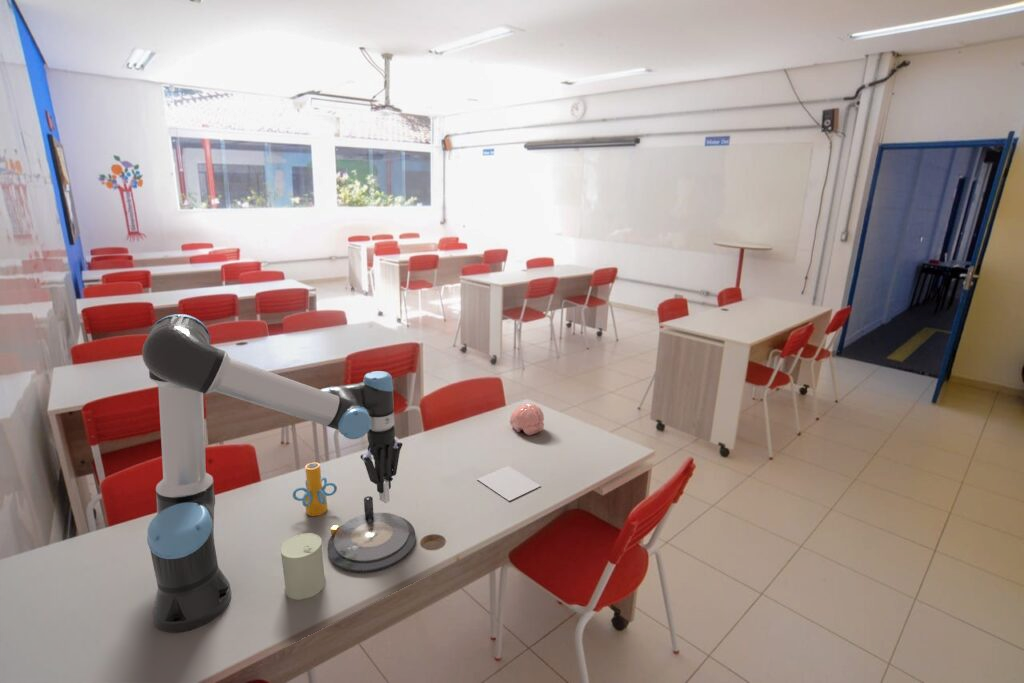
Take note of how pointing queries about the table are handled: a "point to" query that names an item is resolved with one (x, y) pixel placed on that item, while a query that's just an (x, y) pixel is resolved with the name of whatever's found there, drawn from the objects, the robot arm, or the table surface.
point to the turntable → (371, 536)
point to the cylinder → (314, 491)
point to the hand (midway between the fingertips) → (384, 500)
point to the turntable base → (373, 566)
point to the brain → (527, 419)
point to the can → (303, 566)
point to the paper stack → (508, 483)
